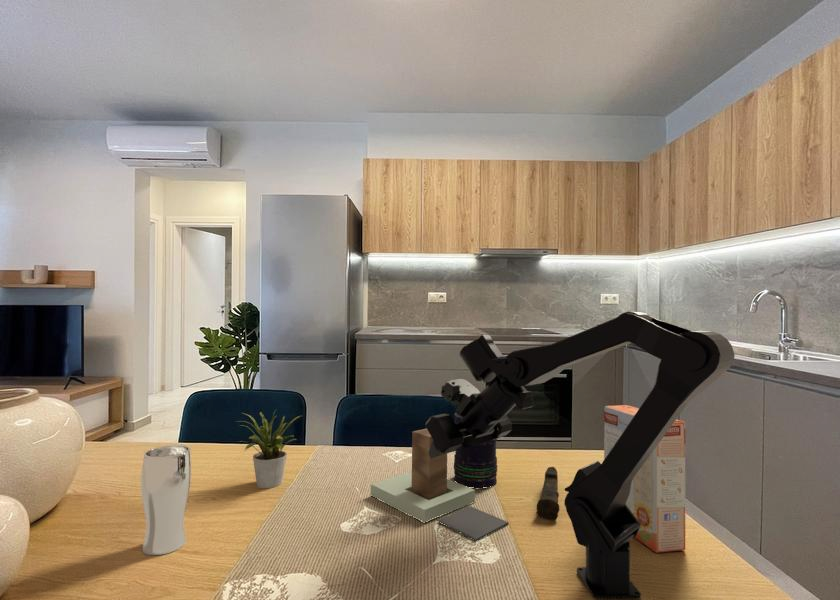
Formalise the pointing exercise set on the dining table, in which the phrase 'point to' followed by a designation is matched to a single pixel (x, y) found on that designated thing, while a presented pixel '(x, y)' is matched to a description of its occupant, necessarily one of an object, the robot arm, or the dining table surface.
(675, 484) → the cracker box
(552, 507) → the hand tool
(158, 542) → the beer glass
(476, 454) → the storage jar
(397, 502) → the square socket block
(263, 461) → the house plant
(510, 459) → the dining table surface
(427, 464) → the wooden block
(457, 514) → the rubber mat
